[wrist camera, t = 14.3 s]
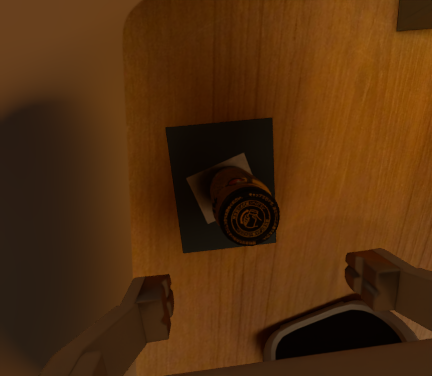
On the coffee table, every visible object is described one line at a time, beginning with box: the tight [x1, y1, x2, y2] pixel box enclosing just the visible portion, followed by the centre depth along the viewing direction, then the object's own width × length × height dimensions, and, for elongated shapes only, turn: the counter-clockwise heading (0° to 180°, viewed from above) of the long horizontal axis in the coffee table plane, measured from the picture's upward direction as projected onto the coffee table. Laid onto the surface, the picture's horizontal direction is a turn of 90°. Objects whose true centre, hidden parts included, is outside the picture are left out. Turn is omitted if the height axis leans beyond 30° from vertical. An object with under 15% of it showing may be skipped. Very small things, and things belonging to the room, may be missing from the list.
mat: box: [166, 118, 276, 253], centre depth 29 cm, size 18×14×1 cm
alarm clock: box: [263, 300, 419, 362], centre depth 29 cm, size 21×10×13 cm, turn 113°
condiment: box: [186, 153, 280, 246], centre depth 23 cm, size 7×8×12 cm
